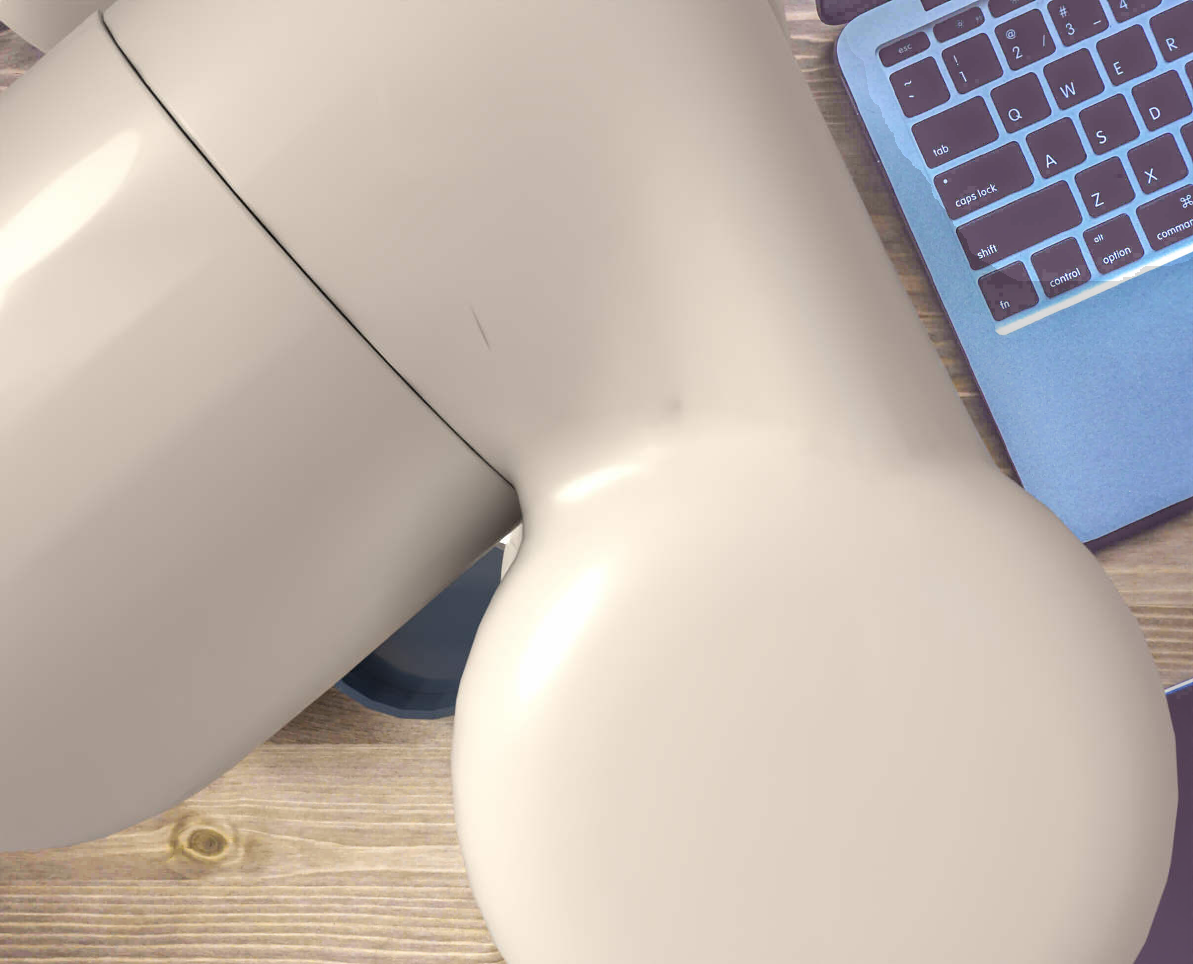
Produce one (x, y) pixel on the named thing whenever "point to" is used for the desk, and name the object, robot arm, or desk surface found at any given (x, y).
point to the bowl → (427, 650)
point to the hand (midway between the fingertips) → (651, 546)
